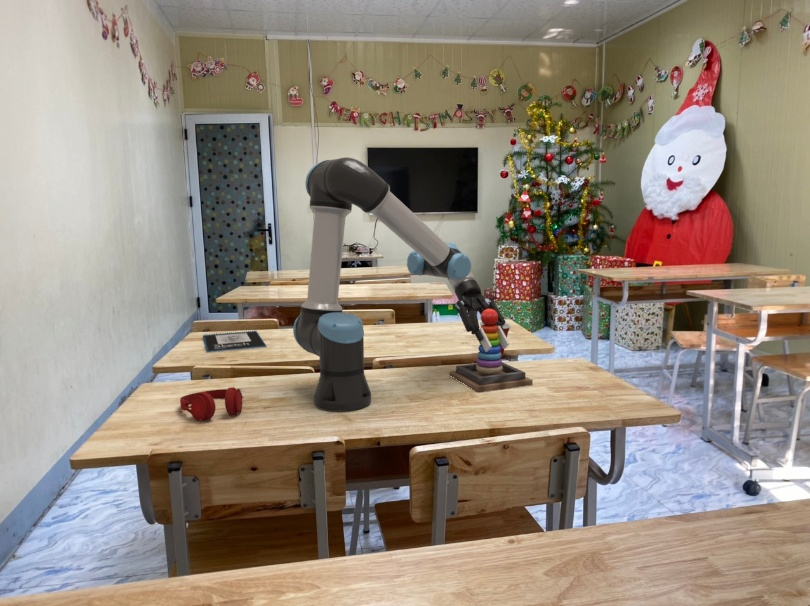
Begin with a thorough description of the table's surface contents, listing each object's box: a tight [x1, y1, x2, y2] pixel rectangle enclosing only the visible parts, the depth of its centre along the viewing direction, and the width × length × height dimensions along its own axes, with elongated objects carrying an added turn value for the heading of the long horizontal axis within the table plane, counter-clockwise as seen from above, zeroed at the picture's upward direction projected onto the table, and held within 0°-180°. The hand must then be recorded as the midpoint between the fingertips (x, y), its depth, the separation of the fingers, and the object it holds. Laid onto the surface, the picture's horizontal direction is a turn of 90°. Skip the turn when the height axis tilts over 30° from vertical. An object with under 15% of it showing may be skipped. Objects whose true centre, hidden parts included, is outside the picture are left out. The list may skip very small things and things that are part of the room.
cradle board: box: [448, 362, 534, 393], centre depth 177 cm, size 18×18×4 cm
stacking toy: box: [476, 309, 503, 374], centre depth 175 cm, size 8×8×19 cm
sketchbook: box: [202, 329, 267, 354], centre depth 233 cm, size 22×30×2 cm
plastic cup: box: [479, 321, 512, 359], centre depth 204 cm, size 11×11×12 cm
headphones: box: [179, 386, 245, 422], centre depth 153 cm, size 15×7×20 cm
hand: (497, 347), depth 172 cm, fingers closed on stacking toy, 6 cm apart
